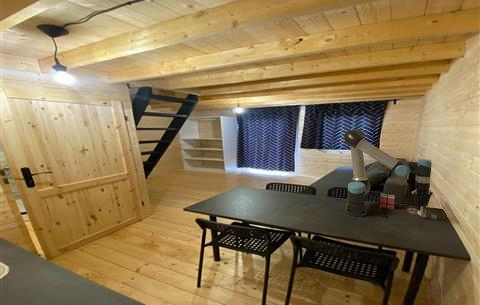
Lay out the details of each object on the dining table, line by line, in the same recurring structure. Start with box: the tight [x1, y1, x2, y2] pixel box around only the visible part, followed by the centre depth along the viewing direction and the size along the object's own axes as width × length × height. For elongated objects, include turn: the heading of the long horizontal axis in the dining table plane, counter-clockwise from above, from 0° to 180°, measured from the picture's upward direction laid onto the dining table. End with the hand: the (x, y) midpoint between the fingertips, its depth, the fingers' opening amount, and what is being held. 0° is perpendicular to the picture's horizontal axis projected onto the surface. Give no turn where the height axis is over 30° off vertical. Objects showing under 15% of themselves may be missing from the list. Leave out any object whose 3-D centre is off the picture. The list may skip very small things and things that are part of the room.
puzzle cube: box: [378, 192, 396, 210], centre depth 168 cm, size 10×10×10 cm
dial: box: [406, 207, 427, 219], centre depth 152 cm, size 14×9×6 cm, turn 174°
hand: (420, 214), depth 146 cm, fingers closed
